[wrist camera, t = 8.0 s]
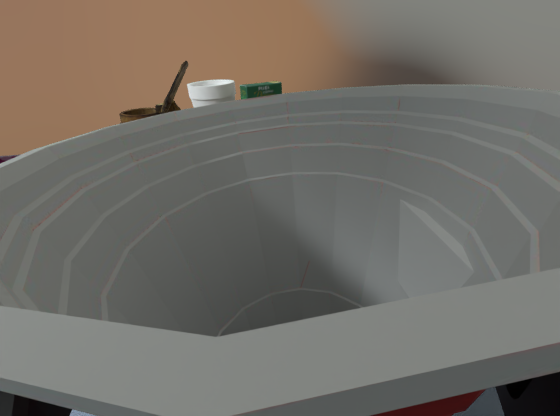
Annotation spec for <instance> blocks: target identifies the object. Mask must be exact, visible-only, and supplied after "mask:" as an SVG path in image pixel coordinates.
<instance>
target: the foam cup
mask: <svg viewBox="0 0 560 416" xmlns="http://www.w3.org/2000/svg"><path fill="white" fill-rule="evenodd" d="M234 83H235V82H234V81H233V80H207V81H199V82H194V83H190V84H187V86H188V92H189V97H190V98H191V101H192V103H193V107H194V108H195V107H200V106H206V105H211V104H217V103H222V102H228V101H234V100H235V94H236V92H235V84H234Z"/></svg>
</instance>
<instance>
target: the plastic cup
mask: <svg viewBox="0 0 560 416" xmlns="http://www.w3.org/2000/svg"><path fill="white" fill-rule="evenodd" d="M400 200H402V201H404V202H406V203H408V204H410V205H412V206H415V207H417V208H419V209H421V210H423V211H425V212H426V213H427V214H428V215H429V216H430V217H431V218H432V219H433V220H435V221H436V222H437V223H438V224H439V225H440V226H441V227H442V228H443V229H444V230H446V231H447V232H448V233H449V234H450V235H451V236H452V237H453V238H454V239H455V240H457V241H458V242H459V243H460V244H461V245H462V246H463V248H464V250H465V253H466V255H467V257H468V259H469V262H470V264H471V266H472V268H473V271H474V273H473V274H472V275H471V276H470V277H469V279H468V280H467V281H466V282H465V283H464V284H463V285H462V287H461V288H458V289H453V290H448V291H443V292H438V293H433V294H428V295H423V296H418V297H413V298H409V297H408V295H407V294H406V292H405V291H404V289H403V288H402V286H401V285H400V283H399V282H398V257H399V225H400ZM556 372H560V91H553V90H540V89H528V88H516V87H503V86H491V85H416V84H415V85H414V84H413V85H412V84H409V85H389V86H369V87H351V88H350V87H349V88H336V89H327V90H317V91H305V92H295V93H285V94H278V95H270V96H263V97H256V98H249V99H242V100H234V101H228V102H222V103H217V104H211V105H206V106H200V107H195V108H190V109H184V110H179V111H173V112H168V113H164V114H160V115H156V116H151V117H147V118H143V119H139V120H134V121H130V122H126V123H122V124H118V125H114V126H109V127H105V128H102V129H99V130H95V131H92V132H89V133H86V134H82V135H79V136H76V137H73V138H70V139H66V140H63V141H60V142H56V143H53V144H50V145H47V146H44V147H41V148H37V149H34V150H31V151H29V152H26V153H24V154H22V155H19V156H17V157H15V158H12V159H10V160H8V161H5V162H3V163H1V164H0V391H3V392H7V393H11V394H15V395H19V396H23V397H27V398H31V399H35V400H38V401H42V402H46V403H50V404H54V405H58V406H62V407H66V408H70V409H73V410H77V411H81V412H85V413H89V414H93V415H97V416H452V415H453V414H454V413H457V412H462V411H465V410H466V409H467V408H468V407H469V406H470V405H471V404H472V403H473V402H474V401H475V400H476V399H477V398H478V397H479V396H480V395H481V394H482V393H483V392H484V391H485V390H486V389H487V388H491V387H496V386H500V385H504V384H509V383H513V382H517V381H522V380H526V379H530V378H535V377H539V376H543V375H548V374H552V373H556Z"/></svg>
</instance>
